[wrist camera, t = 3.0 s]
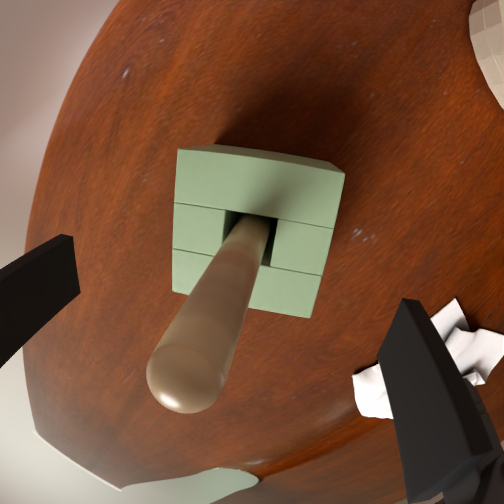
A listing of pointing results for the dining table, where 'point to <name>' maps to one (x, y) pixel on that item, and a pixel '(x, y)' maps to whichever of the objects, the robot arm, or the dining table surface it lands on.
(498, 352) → the cloth
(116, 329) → the dining table surface
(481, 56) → the bowl
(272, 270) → the stand
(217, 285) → the stick
